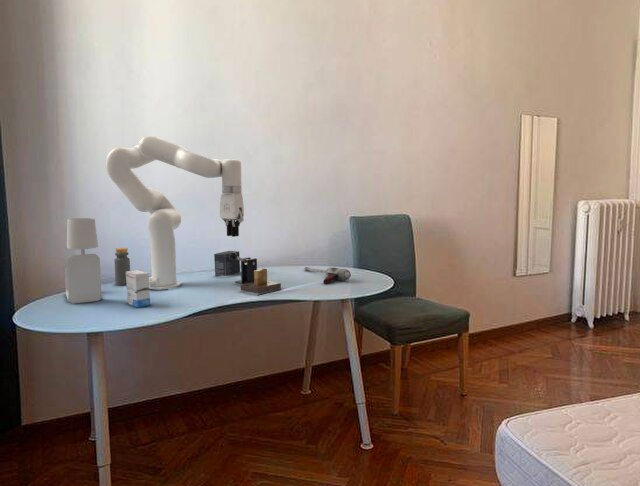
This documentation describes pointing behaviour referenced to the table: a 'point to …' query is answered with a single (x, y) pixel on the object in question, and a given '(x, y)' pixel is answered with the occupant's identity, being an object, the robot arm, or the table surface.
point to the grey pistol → (333, 274)
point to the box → (226, 264)
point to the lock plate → (261, 287)
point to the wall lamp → (82, 262)
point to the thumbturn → (260, 276)
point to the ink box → (138, 288)
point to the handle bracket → (248, 271)
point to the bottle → (121, 266)
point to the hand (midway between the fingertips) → (232, 235)
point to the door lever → (234, 256)
